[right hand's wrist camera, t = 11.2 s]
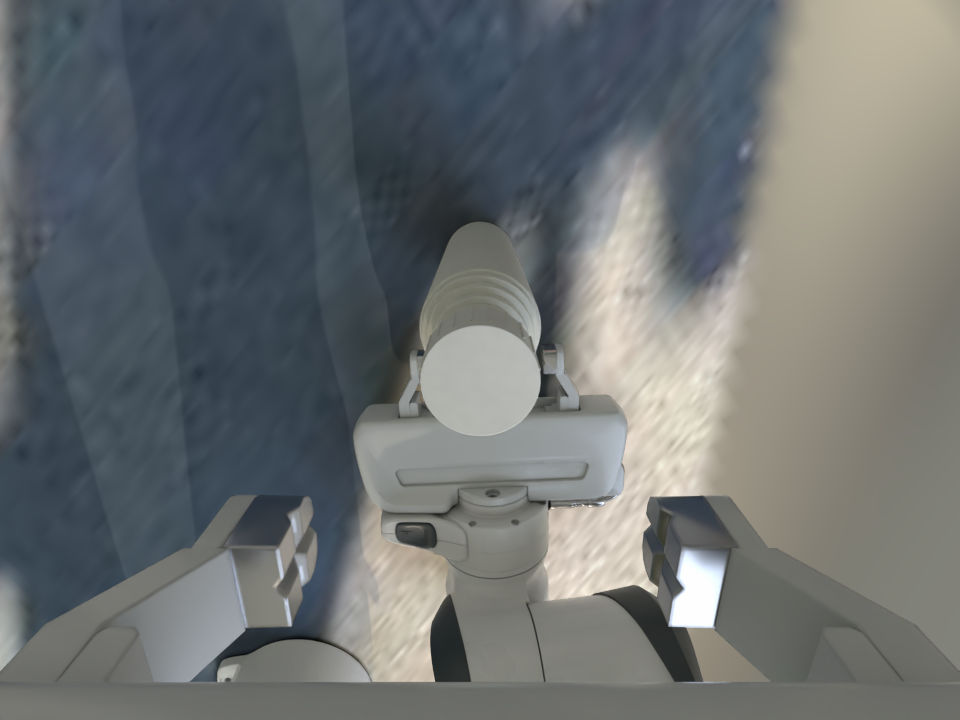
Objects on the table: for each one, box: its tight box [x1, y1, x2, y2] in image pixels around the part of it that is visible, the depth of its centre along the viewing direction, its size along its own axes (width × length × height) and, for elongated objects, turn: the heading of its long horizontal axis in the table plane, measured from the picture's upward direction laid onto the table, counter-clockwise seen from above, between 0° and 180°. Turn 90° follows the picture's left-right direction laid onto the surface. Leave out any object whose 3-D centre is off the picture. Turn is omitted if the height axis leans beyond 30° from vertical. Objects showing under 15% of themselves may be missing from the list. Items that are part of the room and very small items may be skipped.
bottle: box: [419, 222, 541, 351], centre depth 29 cm, size 5×5×25 cm
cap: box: [420, 306, 541, 436], centre depth 19 cm, size 4×4×2 cm
